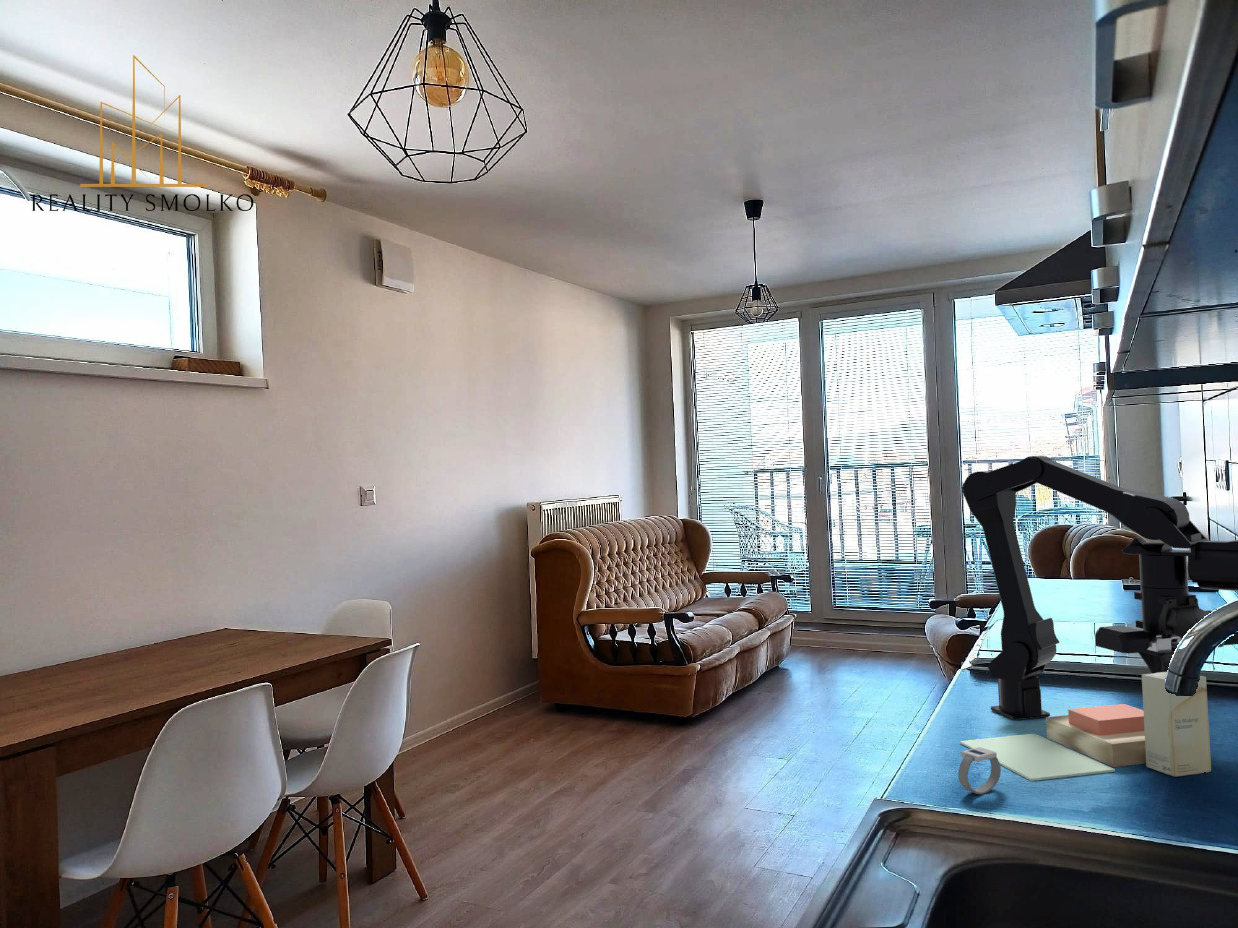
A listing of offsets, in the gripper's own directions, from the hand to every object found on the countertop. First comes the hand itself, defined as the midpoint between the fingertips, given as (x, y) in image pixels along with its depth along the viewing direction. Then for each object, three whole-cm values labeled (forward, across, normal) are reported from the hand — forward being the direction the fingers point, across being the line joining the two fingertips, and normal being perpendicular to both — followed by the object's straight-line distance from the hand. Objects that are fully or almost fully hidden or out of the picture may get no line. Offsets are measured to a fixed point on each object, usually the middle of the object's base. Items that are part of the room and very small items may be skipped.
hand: (1169, 696), depth 120 cm
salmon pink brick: (+2, -9, 0) cm, 10 cm away
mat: (+6, -22, 0) cm, 23 cm away
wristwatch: (+7, -36, -10) cm, 38 cm away
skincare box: (+7, -8, -10) cm, 14 cm away
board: (+6, -9, 0) cm, 11 cm away
